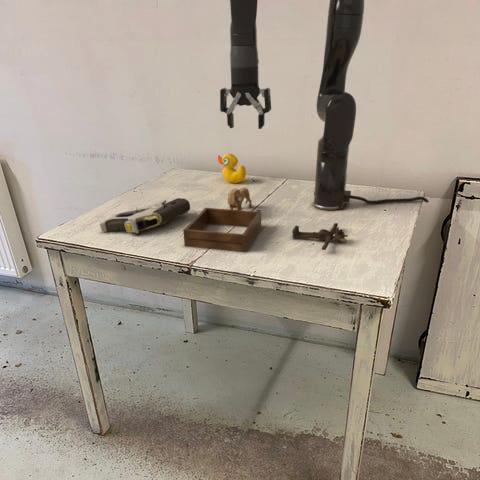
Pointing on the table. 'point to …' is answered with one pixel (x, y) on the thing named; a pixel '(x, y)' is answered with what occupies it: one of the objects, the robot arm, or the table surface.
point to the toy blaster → (146, 216)
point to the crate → (221, 239)
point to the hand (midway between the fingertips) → (246, 128)
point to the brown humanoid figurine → (322, 235)
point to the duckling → (232, 169)
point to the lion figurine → (238, 198)
